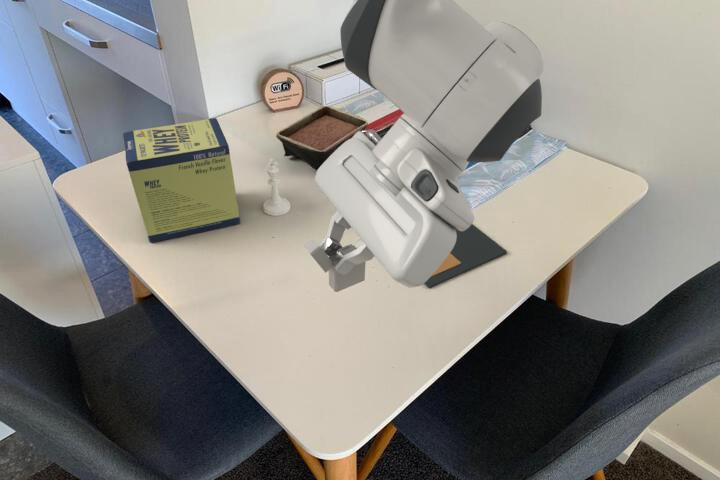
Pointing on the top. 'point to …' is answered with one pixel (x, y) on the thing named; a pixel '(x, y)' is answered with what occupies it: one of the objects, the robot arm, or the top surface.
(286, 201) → the chess piece
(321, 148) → the rectangular plant pot
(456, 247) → the mat
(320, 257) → the lighter
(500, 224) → the top surface
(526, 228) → the top surface
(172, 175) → the protein box
